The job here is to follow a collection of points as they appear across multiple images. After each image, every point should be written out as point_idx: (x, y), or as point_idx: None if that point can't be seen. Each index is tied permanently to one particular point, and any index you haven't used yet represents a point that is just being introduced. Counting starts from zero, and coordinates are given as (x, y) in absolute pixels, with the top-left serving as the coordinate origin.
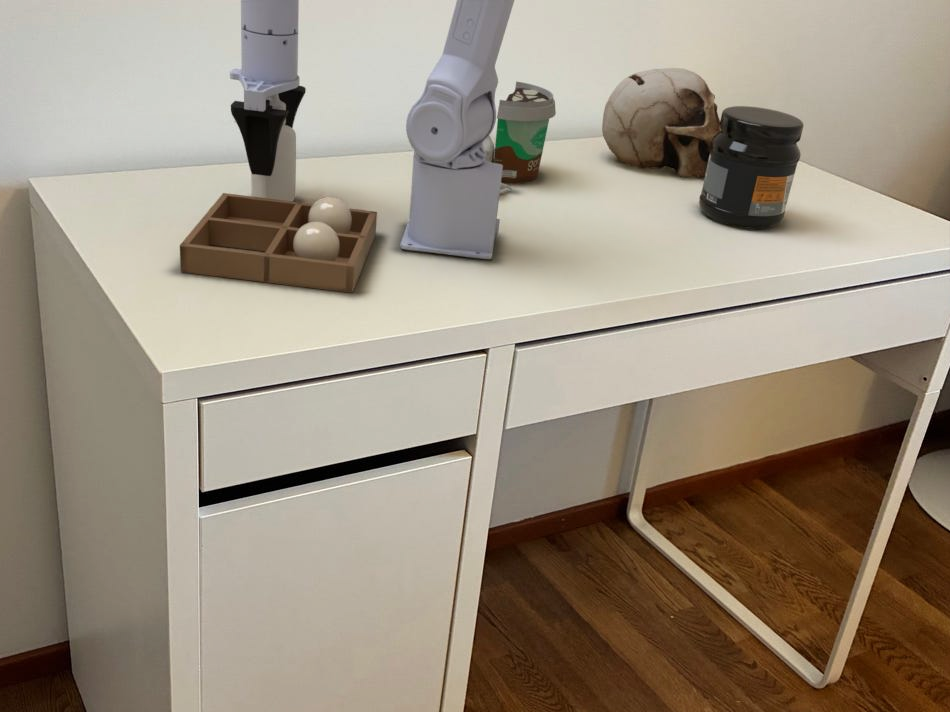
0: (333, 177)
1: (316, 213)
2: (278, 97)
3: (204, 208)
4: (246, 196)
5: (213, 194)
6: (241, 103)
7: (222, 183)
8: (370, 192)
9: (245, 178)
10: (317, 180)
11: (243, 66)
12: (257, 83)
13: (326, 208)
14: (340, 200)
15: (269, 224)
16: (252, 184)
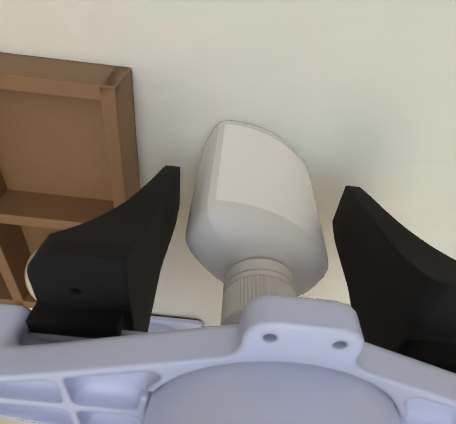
0: (432, 242)
1: (26, 269)
2: None
3: (177, 10)
4: (114, 141)
5: (292, 16)
6: (97, 283)
7: (390, 27)
8: (346, 286)
9: (433, 82)
10: (414, 219)
11: (198, 419)
12: (140, 389)
13: (27, 288)
14: None
15: (106, 164)
16: (213, 143)
